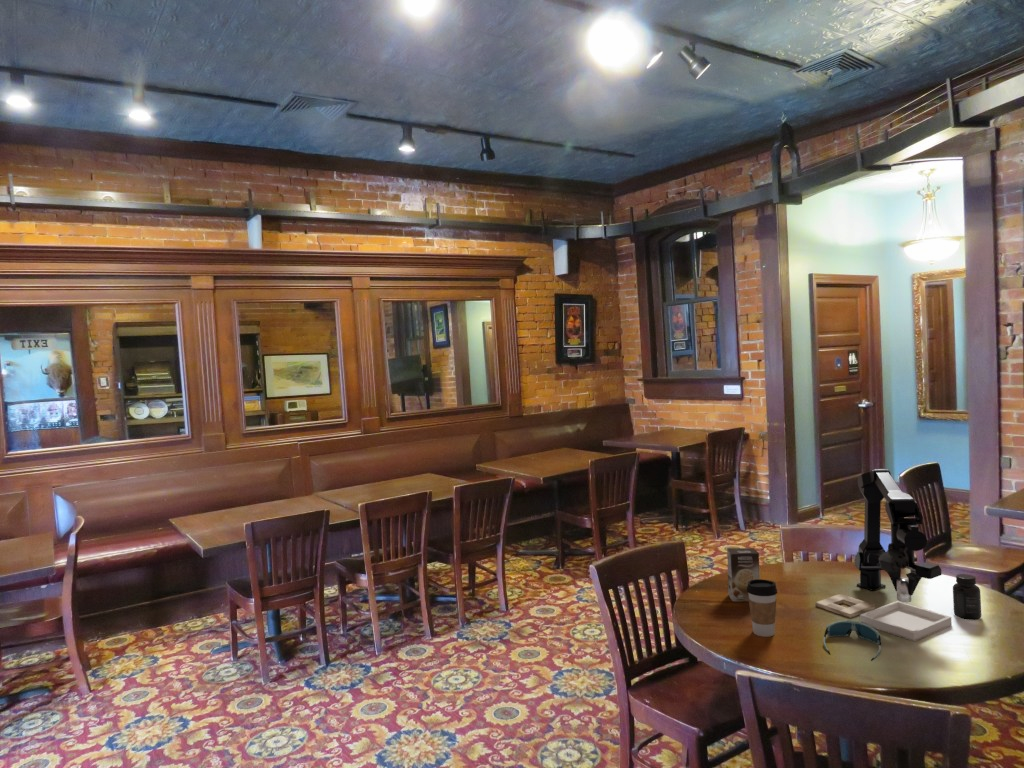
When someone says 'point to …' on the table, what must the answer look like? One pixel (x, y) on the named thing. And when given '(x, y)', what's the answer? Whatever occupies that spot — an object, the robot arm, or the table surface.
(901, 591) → the steel pin
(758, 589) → the coffee cup
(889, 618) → the tray
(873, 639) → the sunglasses
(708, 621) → the table surface
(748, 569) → the coffee box
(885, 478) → the robot arm
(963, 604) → the supplement bottle
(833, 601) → the socket block
